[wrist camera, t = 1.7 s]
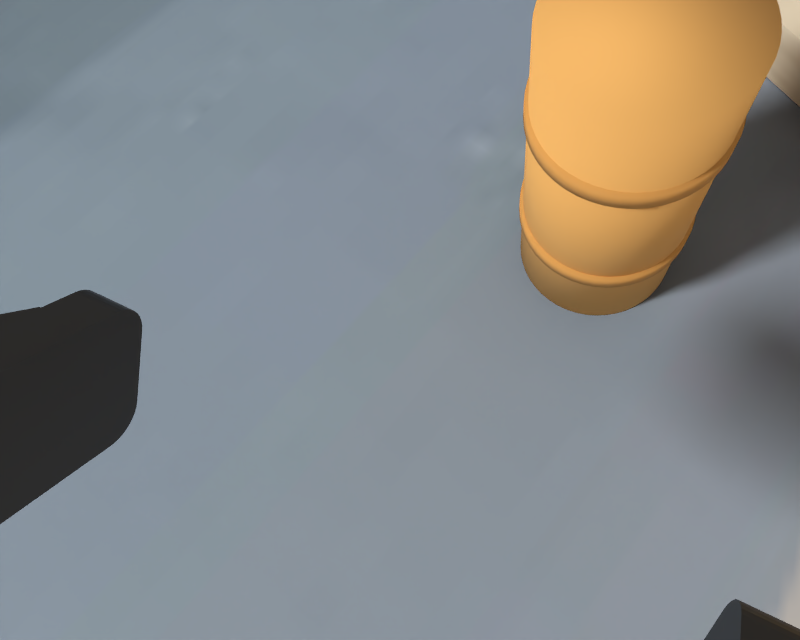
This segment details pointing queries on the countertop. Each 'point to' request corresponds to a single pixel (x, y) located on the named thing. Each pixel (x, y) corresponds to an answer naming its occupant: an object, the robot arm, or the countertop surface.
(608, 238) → the ringed domed cylinder
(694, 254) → the countertop surface
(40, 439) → the robot arm
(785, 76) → the notched wooden board
